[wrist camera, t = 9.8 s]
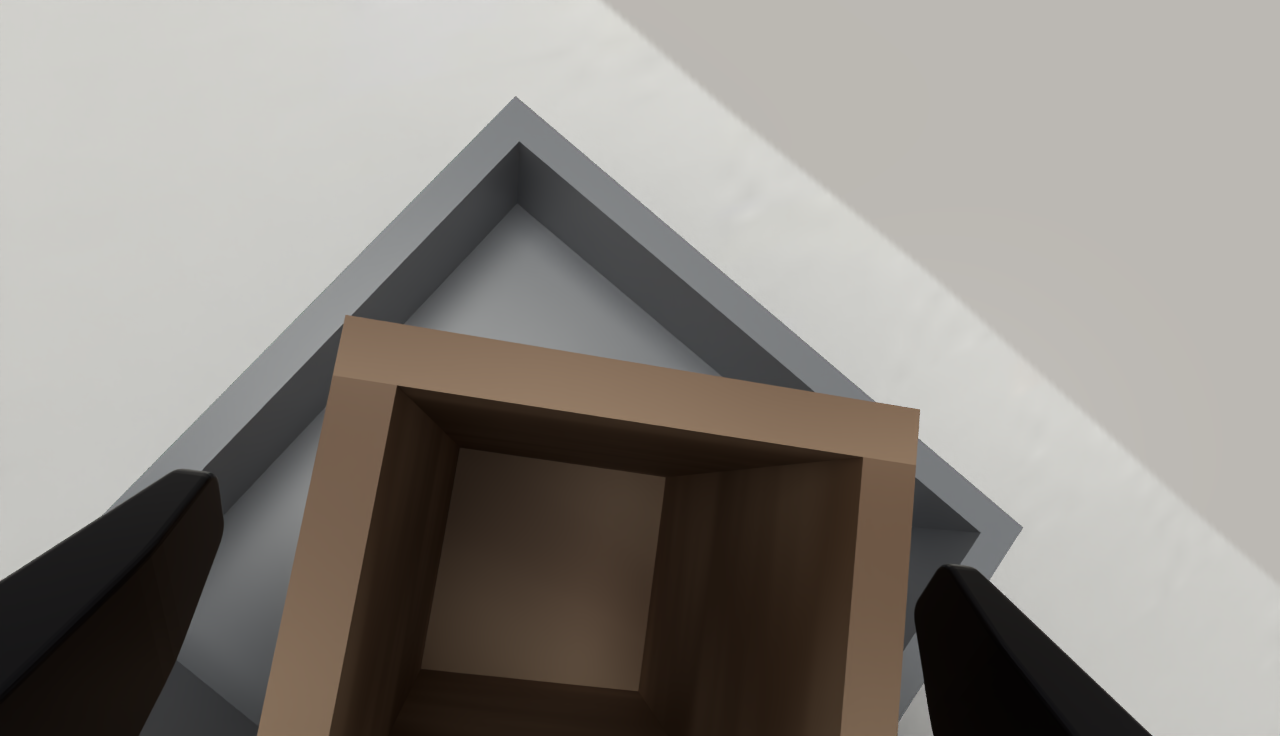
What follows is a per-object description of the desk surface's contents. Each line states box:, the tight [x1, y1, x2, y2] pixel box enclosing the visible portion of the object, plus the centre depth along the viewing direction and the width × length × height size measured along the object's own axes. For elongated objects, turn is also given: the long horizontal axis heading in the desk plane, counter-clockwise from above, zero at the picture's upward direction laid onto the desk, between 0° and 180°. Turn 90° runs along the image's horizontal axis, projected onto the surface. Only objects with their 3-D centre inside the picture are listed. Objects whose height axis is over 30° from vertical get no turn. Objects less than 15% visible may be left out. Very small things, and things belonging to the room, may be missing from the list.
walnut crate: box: [257, 315, 920, 736], centre depth 13 cm, size 6×6×11 cm
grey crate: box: [103, 96, 1023, 736], centre depth 17 cm, size 14×14×4 cm
